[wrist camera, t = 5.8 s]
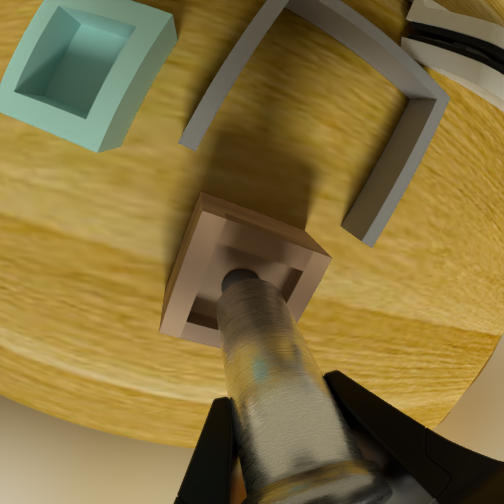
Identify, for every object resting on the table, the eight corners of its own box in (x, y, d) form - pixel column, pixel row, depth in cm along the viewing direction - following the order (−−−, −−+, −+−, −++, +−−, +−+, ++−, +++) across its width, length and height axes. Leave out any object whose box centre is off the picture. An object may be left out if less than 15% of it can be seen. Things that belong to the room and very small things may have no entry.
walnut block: (260, 316, 19) (275, 359, 15) (165, 290, 17) (159, 332, 13) (303, 229, 17) (332, 258, 13) (200, 190, 15) (202, 210, 12)
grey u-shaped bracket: (350, 232, 17) (371, 247, 15) (181, 141, 14) (177, 142, 12) (423, 98, 15) (450, 97, 13) (277, -10, 11) (290, -30, 9)
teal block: (121, 146, 14) (97, 153, 10) (31, 109, 12) (-10, 109, 8) (178, 41, 12) (172, 14, 8) (83, 10, 10) (55, -17, 6)
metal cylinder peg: (264, 348, 13) (329, 536, 5) (198, 325, 12) (220, 545, 4) (302, 291, 13) (419, 480, 4) (233, 261, 12) (308, 498, 3)
